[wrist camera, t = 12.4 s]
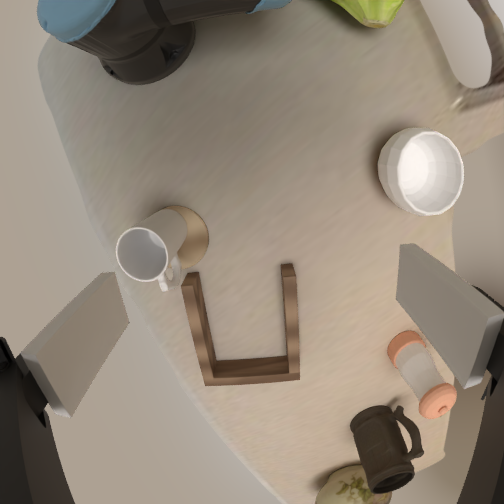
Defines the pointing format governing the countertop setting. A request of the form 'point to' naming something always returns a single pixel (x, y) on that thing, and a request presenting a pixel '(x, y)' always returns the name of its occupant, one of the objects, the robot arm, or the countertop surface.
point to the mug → (153, 248)
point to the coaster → (191, 237)
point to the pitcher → (350, 489)
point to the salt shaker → (421, 374)
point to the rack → (244, 368)
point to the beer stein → (385, 447)
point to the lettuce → (372, 11)
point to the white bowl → (421, 171)
